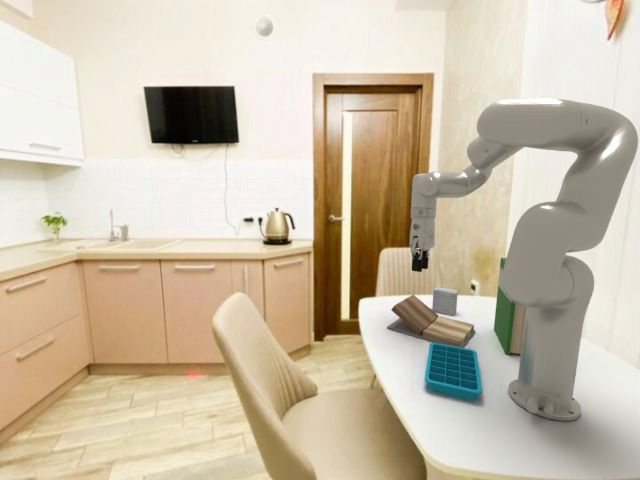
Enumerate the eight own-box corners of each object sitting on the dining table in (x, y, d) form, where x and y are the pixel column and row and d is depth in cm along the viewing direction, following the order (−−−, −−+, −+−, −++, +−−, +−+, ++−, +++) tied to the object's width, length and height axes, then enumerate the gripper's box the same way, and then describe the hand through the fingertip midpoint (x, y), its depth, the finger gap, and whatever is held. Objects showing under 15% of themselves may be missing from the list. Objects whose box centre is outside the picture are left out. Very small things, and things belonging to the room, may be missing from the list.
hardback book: (537, 360, 84) (547, 272, 81) (505, 355, 86) (514, 269, 83) (519, 333, 101) (527, 259, 97) (493, 329, 103) (500, 257, 100)
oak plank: (460, 348, 89) (460, 341, 88) (422, 336, 95) (423, 330, 95) (473, 330, 100) (474, 324, 100) (439, 321, 107) (440, 316, 107)
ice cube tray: (423, 393, 70) (424, 380, 69) (429, 351, 88) (430, 341, 88) (481, 407, 65) (483, 394, 65) (475, 360, 84) (476, 350, 83)
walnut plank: (418, 334, 96) (422, 330, 95) (391, 310, 101) (394, 305, 100) (435, 320, 108) (439, 315, 107) (410, 298, 113) (413, 294, 112)
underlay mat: (461, 351, 88) (461, 349, 88) (386, 328, 102) (386, 326, 102) (475, 332, 100) (475, 330, 100) (407, 314, 115) (407, 312, 115)
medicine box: (456, 312, 117) (458, 290, 116) (454, 316, 114) (456, 293, 113) (434, 308, 122) (436, 286, 120) (431, 311, 118) (433, 289, 117)
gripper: (424, 215, 91) (421, 276, 93) (444, 213, 104) (440, 267, 106) (400, 214, 95) (397, 272, 98) (421, 212, 108) (418, 263, 111)
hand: (419, 269), depth 102 cm, fingers open, 4 cm apart
